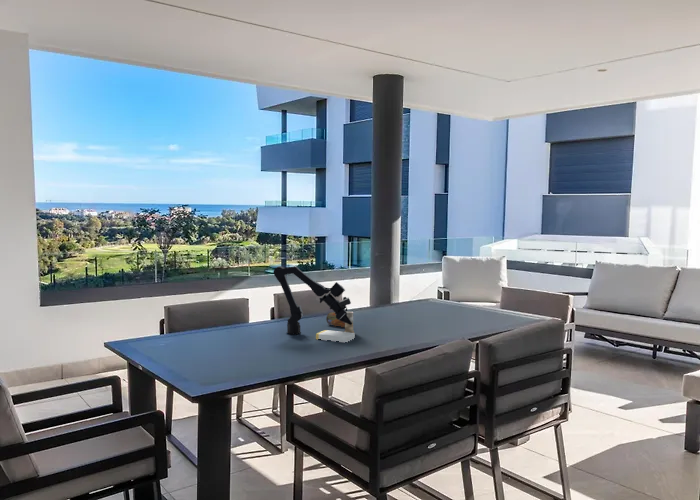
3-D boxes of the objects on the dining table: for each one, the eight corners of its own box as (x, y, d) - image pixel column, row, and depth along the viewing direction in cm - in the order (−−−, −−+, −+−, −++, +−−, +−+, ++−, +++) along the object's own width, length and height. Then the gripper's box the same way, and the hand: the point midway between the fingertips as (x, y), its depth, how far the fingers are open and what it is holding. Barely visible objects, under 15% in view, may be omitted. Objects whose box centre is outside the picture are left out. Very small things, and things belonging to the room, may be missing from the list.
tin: (326, 325, 327) (326, 311, 326) (328, 324, 330) (328, 310, 329) (347, 328, 320) (348, 314, 319) (350, 327, 323) (350, 313, 322)
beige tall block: (344, 335, 300) (344, 313, 299) (344, 333, 305) (344, 311, 304) (353, 335, 300) (354, 313, 299) (354, 333, 305) (354, 311, 304)
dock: (316, 339, 289) (316, 333, 289) (324, 335, 299) (324, 329, 299) (346, 342, 282) (346, 337, 281) (354, 338, 292) (354, 333, 292)
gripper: (342, 295, 292) (362, 315, 292) (342, 290, 310) (361, 309, 311) (327, 309, 292) (347, 329, 293) (329, 304, 311) (348, 323, 311)
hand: (351, 322), depth 302 cm, fingers open, 9 cm apart
